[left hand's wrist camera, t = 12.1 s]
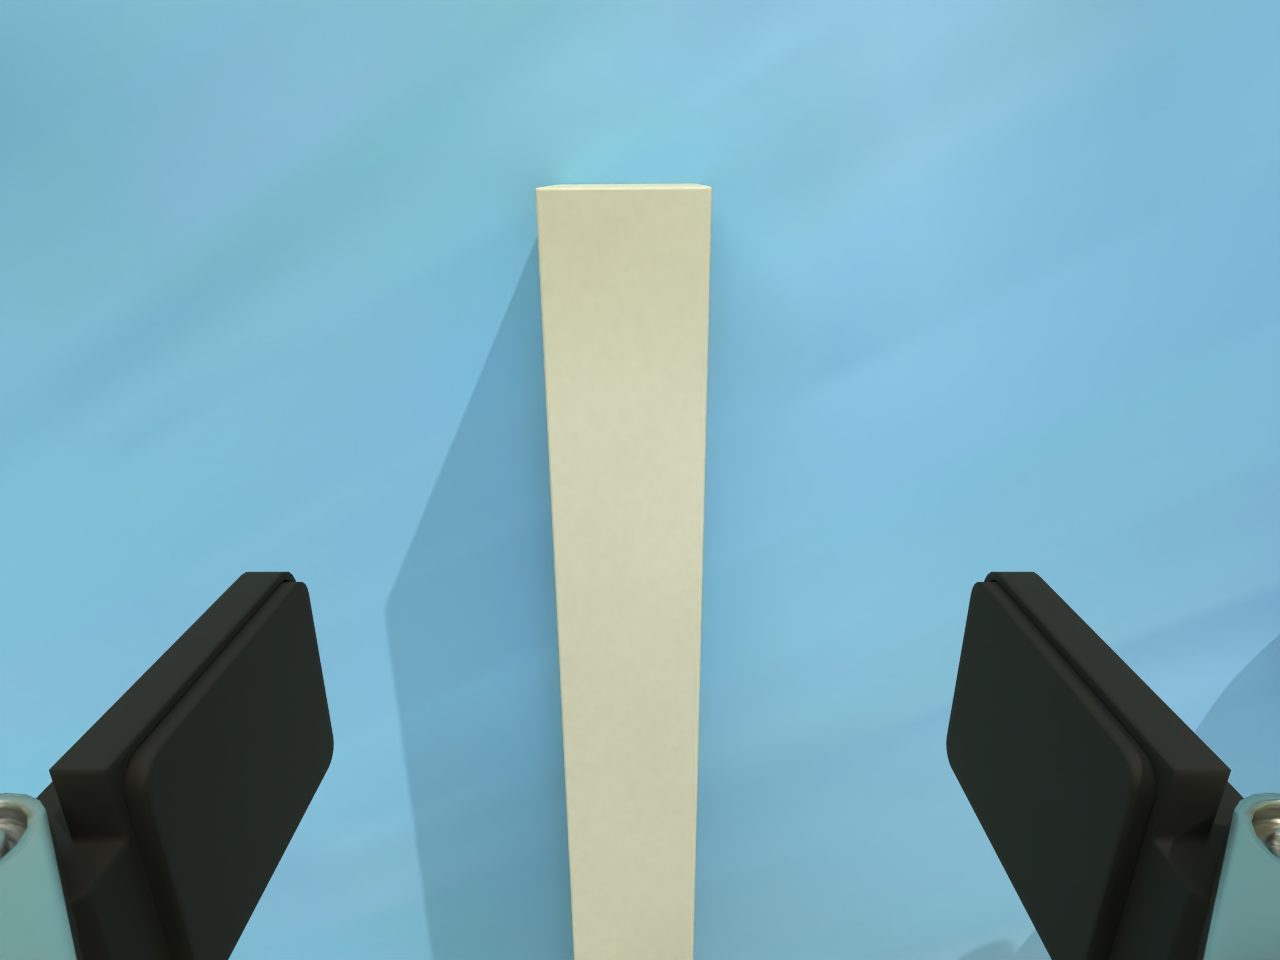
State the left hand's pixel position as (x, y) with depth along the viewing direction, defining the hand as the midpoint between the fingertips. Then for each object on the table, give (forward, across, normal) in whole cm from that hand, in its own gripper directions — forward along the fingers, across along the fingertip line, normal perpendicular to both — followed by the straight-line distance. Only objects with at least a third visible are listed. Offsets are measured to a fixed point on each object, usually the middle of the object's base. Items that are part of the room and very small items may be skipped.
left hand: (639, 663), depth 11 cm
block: (+26, 0, -24) cm, 36 cm away
